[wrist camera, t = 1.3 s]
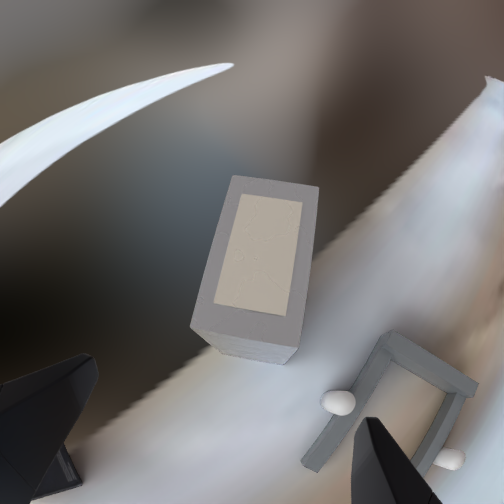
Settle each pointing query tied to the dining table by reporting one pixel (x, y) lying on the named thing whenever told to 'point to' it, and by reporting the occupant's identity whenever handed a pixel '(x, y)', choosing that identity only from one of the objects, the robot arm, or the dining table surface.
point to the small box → (58, 476)
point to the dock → (354, 401)
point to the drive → (258, 270)
